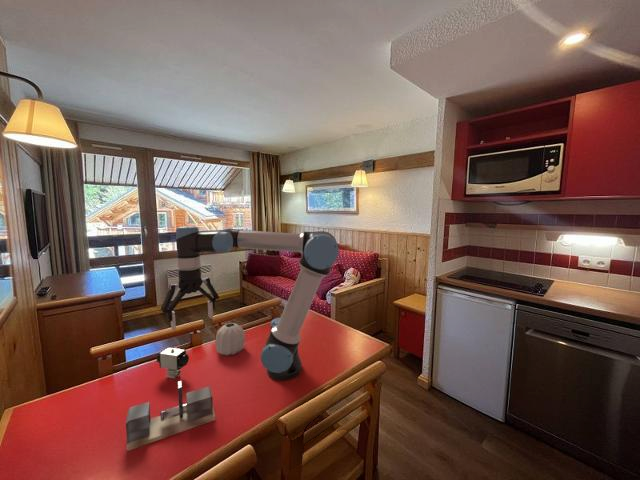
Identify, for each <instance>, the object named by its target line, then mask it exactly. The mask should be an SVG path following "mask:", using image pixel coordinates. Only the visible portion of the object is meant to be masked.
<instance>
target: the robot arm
mask: <svg viewBox="0 0 640 480" xmlns="http://www.w3.org/2000/svg"><path fill="white" fill-rule="evenodd" d="M199 230H200V229H199V227H198V226H192V225H191V226H189V225H188V226H187V225H186V226H178V227H177V228H176V229H175V244H176V254H177V255H176V256H177V268H178V270H177V272H178V273H177V274H178V283H175V284H174V283H170V284H169V287H168V291H167V294H166V296H165V298H164V301H163V302H162V306H161V308H160V311H161V312H162V313H166V315H167V316H166V317H167V321H169V322H170V327H171V329H172V330H173V331H176V330H177V327H176V326H177V325H176V324H177V323H176V314H175V313H176V312H175V311H174V310H175V309H176V307H177V306H178V304H179V303H180V302H181V300H182V299H183V297H184V296H186V295H189V294H192V293H197V292H199V293H200V294H202V295H203V296H204V297H206V298H207V299H208V300H207V313H208V316H207V317H208V318H210V319H211V320H212V319H214V310H215V308H216V305H215V303H216V302H217V300H219V299H220V296H219V294H218V293H217V291H216V289H215V288H214V286H213V285H212V283H211V279H210V278H209V277H208V276H206V277H204V278H202V271H201V270H202V269H201V253H218V254H222V253H229V252H231V250H232V249H249V250H264V251H277V252H290V253H291V252H293V253H300V255H301V257H300V259H299V262H298V264H299V266H300V271H299V273H298V275H297V277H296V280H295V282H294V284H293V287H292V289H291V292H290V294H289V296H288V299H287V301H286V304H285V306H284V309H283V312H282V313H281V317H275V318H274V319H272V320H271V322H270V332H269V335H268V337H267V339H266V342H265V344H264V346H263V348H262V350H261V353H260V361H261V364H262V365H263V367H264V368H265V369H266V374H267V375H268V376H269V377H270V378H271V379H273V380H276V381H289V380H292V379H295V378H297V377H298V376H299V375H301V373H302V368H303V363H302V361H301V357H300V354H299V344H300V342H301V336H300V332H301V330H302V327H303V324H304V322H305V320H306V317H307V315H308V313H309V310H310V308H311V306H312V303H313V301H314V299H315V296H316V293H317V292H318V290H319V287H320V285H321V282H322V280H323V278H324V277H327V276H329V275H330V272H331V269H332V267H333V265H334V264H335V263H336V262H337V259H338V258H339V253H340V251H339V249H340V248H339V245H338V242H337V240H336V238H335V236H334V235H333V234H331V233H330V232H328V231H325V230H324V231H323V230H319V231H303V232H302V233H296V232H295V233H292V232H275V231H262V230H261V231H260V230H247V229H246V230H245V229H236V228H235V229H234V228H225V229H221V230H216V231H199ZM203 284H204V285H206V288H207V289H208V291H209V292H210V293H211V295H210V293H208V292H207V291H206V290H204V288H203V287H202V285H203ZM178 288H179V290H178V292H177V294H176V295H175V293H176V291H177V289H178ZM174 295H175V297H174Z"/></svg>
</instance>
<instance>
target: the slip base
mask: <svg viewBox="0 0 640 480" xmlns="http://www.w3.org/2000/svg"><path fill="white" fill-rule="evenodd" d="M185 397H186V400H185V401H186V403H187V412H188V413H185V414H183V418H181V419H180V415H179V416H176V417H173V418H170V419H167V420H164V421H161V416H160V415H158V416H154V417H152V418H151V409H150V408H151V406H150V401H148V402H147V401H146V402H145V403H140V404H137V405H134V406H130V408H128V410H127V414H126V418H125V419H126V420H125V430H126V431H125V433H126V452H129V451H131V450H134V449H137V448H140V447H142V446H145V445H148V444H152V443H154V442H157V441H159V440H162V439H165V438H168V437H171V436H174V435H176V434H179V433H182V432H185V431H189V430H191V429H193V428H197V427H199V426H202V425H204V424H208V423H210V422H213V421H216V413H215V410H214V406H213V394H212V389H211V386H210V385H209V386H206V387H202V388H199V389H195V390H193V391H188V392H186V394H185Z"/></svg>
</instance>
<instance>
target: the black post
mask: <svg viewBox="0 0 640 480" xmlns="http://www.w3.org/2000/svg"><path fill="white" fill-rule="evenodd" d="M177 392H178V393H177V394H178V405H177V406H174V407H170V408H167V409H164V410H161V411H160V414H159V416H161V421H164V420H167V419H170V418H173V417H176V416H179V415H180V419H181V418H183V414H185V413H188V412H187V402H186V403H184V402H183V386H182V380H179V381H177ZM183 403H184V404H183Z"/></svg>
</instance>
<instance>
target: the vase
mask: <svg viewBox="0 0 640 480" xmlns="http://www.w3.org/2000/svg"><path fill="white" fill-rule="evenodd" d="M245 343H246V336H245V331H244V329H243V327H242V326H241V325H239V324H237V323H235V322H229V323H226V324H224V325H222V326H221V327H220V328H219V329H218V330H217V332H216V335H215V349H216V352H217V353H219V355H222V356H224V355H225V356H230V355H233V356H234V355H235V354H236V353H237V354H238V353H241V351H242V350H243V348H244V347H245Z"/></svg>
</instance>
